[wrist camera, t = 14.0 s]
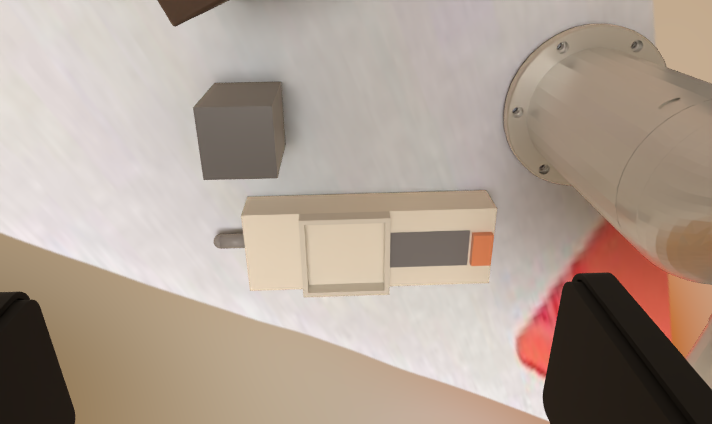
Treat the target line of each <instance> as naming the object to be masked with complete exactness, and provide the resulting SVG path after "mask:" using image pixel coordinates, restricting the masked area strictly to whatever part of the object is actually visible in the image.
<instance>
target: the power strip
mask: <svg viewBox="0 0 712 424" xmlns="http://www.w3.org/2000/svg"><path fill="white" fill-rule="evenodd" d="M496 214H497V207H496V206H495V204H494V202H493V201H492V199H491V198H490V196H489V195H488V193H487V191H486V190H474V191H438V192H402V193H365V194H329V195H293V196H257V197H247V200H246V203H245V206H244V209H243V211H242V214H241V219H242V227H243V234H219V235H217V236H216V237H215V238H214V245H215V246H216V247H217V248H221V249H222V248H245V252H246V261H247V269H248V277H249V286H250V291H259V290H289V289H303V295H304V297H330V296H360V295H389V286H411V285H441V284H471V283H489V274H490V266H491V257H492V248H493V240H494V231H495V222H496Z"/></svg>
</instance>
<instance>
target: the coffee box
mask: <svg viewBox="0 0 712 424" xmlns="http://www.w3.org/2000/svg"><path fill="white" fill-rule="evenodd" d="M227 1H228V0H158V2H159V4H160V5H161V7H162V9H163V10H164V12H165V13H166V15H167V17H168V18H169V20H170V22H171V23H172V25H173V26H178V25H179V24H181V23H183V22H185V21H187V20H189V19H191V18H194V17H196V16H198V15H200V14H202V13H204V12H206V11H208V10H210V9H212V8H214V7H217V6H219V5H221V4H223V3H225V2H227Z"/></svg>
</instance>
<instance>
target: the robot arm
mask: <svg viewBox="0 0 712 424" xmlns="http://www.w3.org/2000/svg"><path fill="white" fill-rule="evenodd" d="M633 42H634V45H633V46H632V47H631V45H632V43H633ZM559 43H561V48H559V49H557V46H558V44H559ZM516 107H517V111H516V112H512V111H513V109H514V108H516ZM504 129H505V133H506V137H507V141H508V143H509V145H510V148H511V150H512V152H513V154H514V155H515V156H516V157H517V159H518V160H519V161H520V162H521V164H522V165H524V166H525V167H526V168H527V169H528V170H529V171H530V172H531V173H533V174H534V175H536V176H537V177H539V178H541V179H543V180H546V181H549V182H551V183H555V184H562V185H572V186H573V187H574V188H575V189H576V190H577V191H578V192H579V193H580V194H581V195H582V196H583V197H584V198H585V199H586V200H587V201H588V202H589V203H590V204H591V205H592V206H593V207H594V208H595V209H596V210H597V211H598V212H599V213H600V214H601V215H602V216H603V217H604V218H605V219H606V220H607V221H608V222H609V223H610V224H611V225H612V226H613V227H614V228H615V229H616V230H617V231H618V232H619V233H620V234H621V235H622V236H623V237H624V238H625V239H626V240H627V241H628V242H629V243H630V244H631V245H632V246H634V247H635V248H636V249H637V250H638V251H639V252H640V253H641V254H642V255H643V256H644V257H645V258H646V259H648V260H649V261H650V262H651V263H653V264H654V265H655V266H657V267H658V268H660V269H662V270H664V271H665V272H667V273H669V274H671V275H674V276H677V277H680V278H683V279H686V280H689V281H693V282H697V283H703V284H711V285H712V84H711V83H708V82H706V81H703V80H700V79H697V78H694V77H692V76H689V75H686V74H683V73H680V72H678V71H675V70H672V69H669V68H667V67H666V64H665V61H664V59H663V58H662V56H661V54H660V52H659V51H658V49H657V48H656V47H655V46H654V45H653V44H652V43H651V42H650V41H649V40H648V39H647V38H646V37H644V36H642V35H640V34H639V33H637V32H635V31H634V30H631V29H628V28H625V27H621V26H616V25H611V24H588V25H583V26H578V27H574V28H572V29H569V30H567V31H564V32H562V33H560V34H558V35H556V36H554V37H553V38H551V39H550V40H548V41H546V42H545V43H543V44H542V45H541V46H540V47H539V48H538V49H537V50H536V51H534V52H533V53H532V54H531V55H530V56H529V57H528V59H527V60H526V61H525V62H524V64H523V65H522V66H521V67H520V69H519V71H518V72H517V74H516V76H515V78H514V79H513V81H512V83H511V86H510V89H509V92H508V94H507V97H506V102H505V109H504ZM542 165H543V167H541V168H540V166H542ZM543 404H544V409H545V412H546V415H547V417H548V419H549V421H550V424H712V314H711V316H710V318H709V321H708V324H707V325H706V327H705V328H704V330H703V332H702V333H701V335H700V336H699V338H698V340H697V341H696V343H695V344H694V346H693V347H692V349H691V350H690V352H689V353H688V355H687V356H686V358H684V357H683V355H682V354H681V353H680V352H679V351H678V350H677V348H676V347H675V346H674V345H673V344H672V343H671V341H670V340H669V339H668V338H667V337H666V336H665V334H664V333H663V332H662V331H661V330H660V329H659V327H658V326H657V325H656V324H655V323H654V322H653V320H652V319H651V318H650V317H649V316H648V315H647V313H646V312H645V311H644V310H643V309H642V308H641V307H640V305H639V304H638V303H637V302H636V301H635V300H634V298H633V297H632V296H631V295H630V294H629V293H628V291H627V290H626V289H625V288H624V287H623V286H622V284H621V283H620V282H619V281H618V280H617V279H616V277H615V276H614V275H612V274H611V273H580V274H576V275H575V276H574V278H573V280H572V282H566V283H565V284H564V286H563V290H562V295H561V300H560V305H559V311H558V316H557V321H556V326H555V332H554V337H553V342H552V347H551V353H550V358H549V363H548V369H547V374H546V379H545V384H544V390H543ZM0 424H75V411H74V407H73V404H72V402H71V398H70V395H69V392H68V389H67V386H66V383H65V381H64V378H63V375H62V371H61V368H60V366H59V363H58V359H57V356H56V353H55V350H54V347H53V344H52V342H51V339H50V335H49V332H48V329H47V326H46V323H45V320H44V317H43V314H42V312H41V308H40V306H39V304H38V303H37V301H35V300H30V298H29V296H28V295H27V294H26V293H23V292H0Z"/></svg>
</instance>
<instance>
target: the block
mask: <svg viewBox="0 0 712 424" xmlns="http://www.w3.org/2000/svg"><path fill="white" fill-rule="evenodd" d="M193 110H194V117H195V124H196V130H197V137H198V144H199V151H200V158H201V165H202V172H203V178H204V180H219V179H262V178H278V174H279V170H280V166H281V162H282V158H283V153H284V149H285V145H286V143H285V129H284V115H283V101H282V87H281V82H237V83H214V84H213V85H212V87H211V88H210V89H209V90H208V91H207V92H206V93H205V95H204V96H203V97H202V98H201V99H200V100H199V101H198V103H197V104H196V105H195V106H194V107H193Z"/></svg>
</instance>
